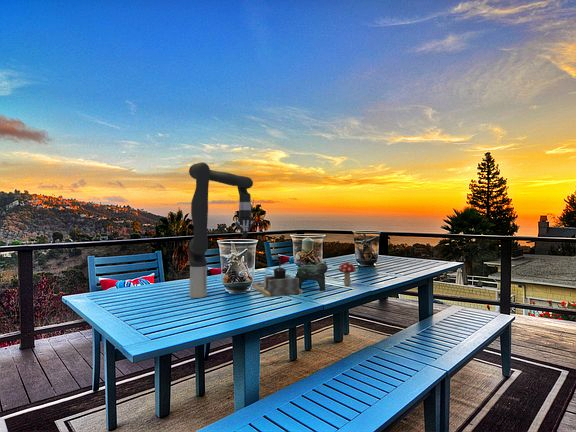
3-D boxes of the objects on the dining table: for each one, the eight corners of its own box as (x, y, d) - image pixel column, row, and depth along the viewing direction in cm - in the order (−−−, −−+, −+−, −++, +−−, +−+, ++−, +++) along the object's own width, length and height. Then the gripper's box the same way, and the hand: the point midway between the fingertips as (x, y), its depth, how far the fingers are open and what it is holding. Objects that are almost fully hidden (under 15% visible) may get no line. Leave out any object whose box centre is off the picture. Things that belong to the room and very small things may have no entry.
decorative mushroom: (359, 286, 220) (359, 263, 220) (347, 288, 213) (347, 264, 213) (347, 283, 229) (347, 260, 229) (335, 285, 223) (335, 262, 222)
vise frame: (266, 297, 191) (266, 281, 191) (251, 286, 220) (251, 272, 220) (302, 293, 200) (302, 278, 199) (282, 283, 228) (282, 269, 228)
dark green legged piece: (327, 289, 211) (327, 257, 211) (327, 291, 205) (327, 258, 204) (295, 288, 213) (295, 256, 213) (294, 291, 207) (294, 258, 206)
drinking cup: (281, 294, 198) (281, 260, 197) (270, 292, 202) (270, 259, 201) (288, 291, 204) (288, 258, 204) (277, 290, 208) (278, 257, 208)
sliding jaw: (265, 292, 202) (265, 276, 202) (264, 290, 205) (264, 276, 205) (290, 289, 208) (290, 275, 208) (288, 288, 211) (288, 274, 211)
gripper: (236, 209, 208) (236, 237, 208) (256, 209, 213) (256, 237, 213) (233, 209, 214) (233, 237, 215) (253, 209, 220) (253, 236, 220)
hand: (245, 237), depth 214 cm, fingers closed
